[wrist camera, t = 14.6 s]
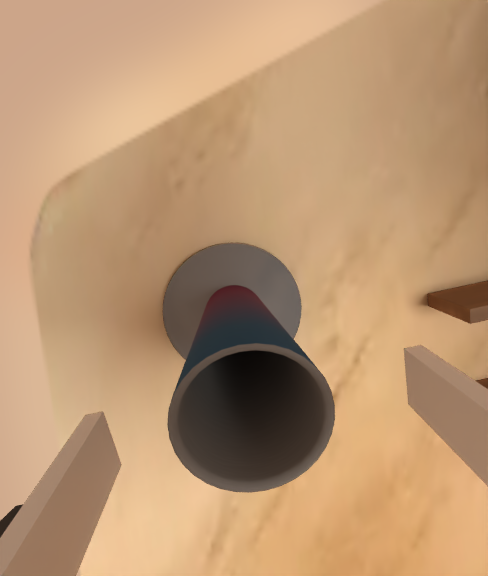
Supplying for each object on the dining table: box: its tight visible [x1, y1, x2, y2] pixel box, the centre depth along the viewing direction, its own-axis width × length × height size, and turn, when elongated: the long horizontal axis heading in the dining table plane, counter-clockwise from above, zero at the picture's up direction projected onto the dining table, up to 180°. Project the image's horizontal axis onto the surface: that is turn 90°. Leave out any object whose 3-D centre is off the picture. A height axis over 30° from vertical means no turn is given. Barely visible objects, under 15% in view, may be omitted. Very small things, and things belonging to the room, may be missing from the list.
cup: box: [168, 285, 335, 492], centre depth 20 cm, size 7×7×15 cm
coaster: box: [163, 243, 301, 359], centre depth 28 cm, size 12×12×1 cm
